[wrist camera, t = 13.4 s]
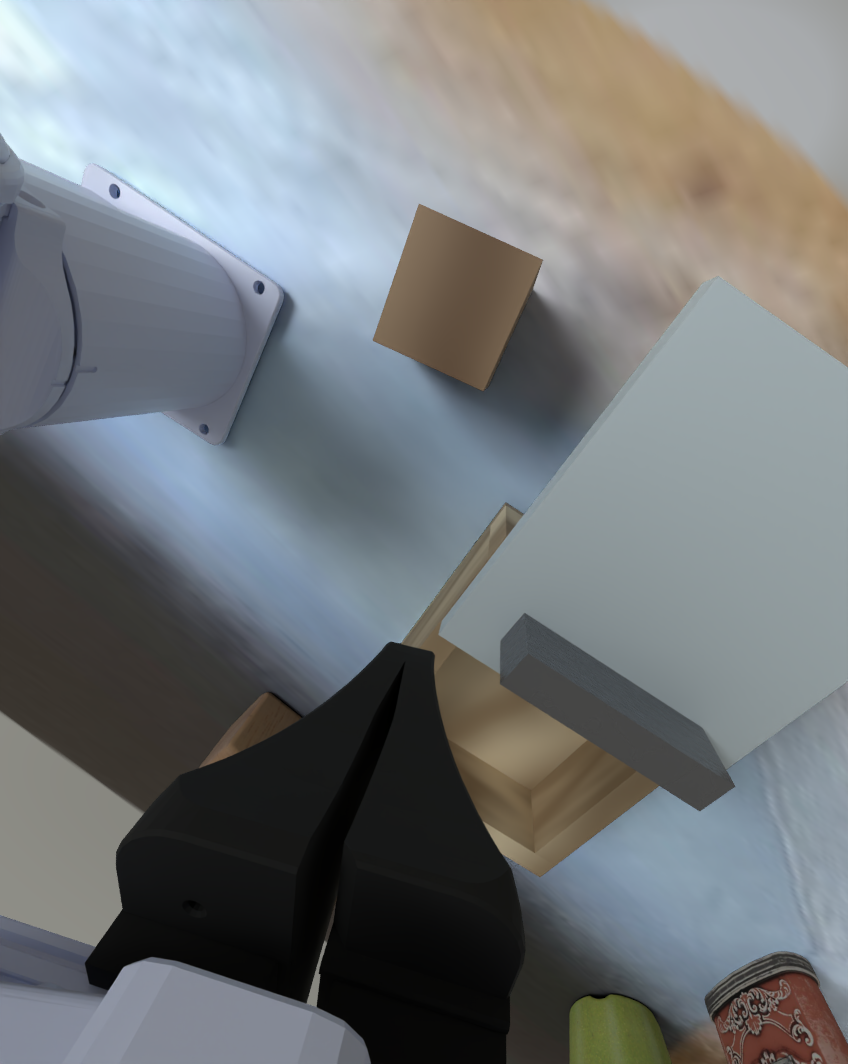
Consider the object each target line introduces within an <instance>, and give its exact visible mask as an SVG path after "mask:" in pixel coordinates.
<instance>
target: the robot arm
mask: <svg viewBox="0 0 848 1064" xmlns="http://www.w3.org/2000/svg"><path fill="white" fill-rule="evenodd" d="M118 188H119V189H120V197H119V198H118V197H117V190H118ZM262 282H263V284H264V286H265V290H264V292H263V294H260V293H259V291H258V285H259V284H260V283H262ZM283 299H284V294H283V291H282V288H281V287H280V286H279V285H278V284H277V283H275V282H274V281H272V280H271V279H269V278H268V277H266V276H265V275H263V274H262V273H260V272H259V271H257V270H256V269H254V268H253V267H251V266H250V265H248V264H247V263H245V262H244V261H242V260H241V259H239V258H238V257H236V256H235V255H233V254H232V253H230V252H229V251H227V250H226V249H224V248H223V247H221V246H220V245H218V244H217V243H215V242H214V241H212V240H211V239H209V238H208V237H206V236H205V235H203V234H202V233H200V232H199V231H197V230H196V229H194V228H193V227H191V226H190V225H188V224H187V223H185V222H184V221H182V220H181V219H179V218H178V217H176V216H175V215H173V214H172V213H170V212H169V211H167V210H166V209H164V208H163V207H161V206H160V205H158V204H157V203H155V202H154V201H152V200H151V199H149V198H148V197H146V196H145V195H143V194H142V193H140V192H139V191H137V190H136V189H134V188H133V187H131V186H130V185H128V184H127V183H125V182H124V181H122V180H121V179H119V178H118V177H116V176H115V175H113V174H112V173H110V172H109V171H107V170H106V169H104V168H103V167H101V166H99V165H97V164H94V163H91V164H88V165H87V166H86V168H85V170H84V174H83V178H82V183H81V185H78V184H76V183H74V182H72V181H69V180H67V179H65V178H62V177H60V176H58V175H56V174H53V173H51V172H49V171H47V170H44V169H42V168H40V167H38V166H35V165H33V164H31V163H28V162H26V161H24V160H22V159H19V158H18V157H17V155H16V154H15V153H14V152H13V150H12V149H11V148H10V147H9V146H8V144H7V143H6V142H5V140H4V138H3V137H2V135H1V133H0V435H1V434H3V433H4V432H6V431H10V430H13V429H20V428H29V427H37V426H46V425H54V424H63V423H71V422H80V421H88V420H97V419H105V418H114V417H122V416H131V415H139V414H148V413H156V412H162V413H163V414H165V415H166V416H168V417H169V418H171V419H173V420H174V421H176V422H177V423H179V424H180V425H182V426H183V427H185V428H187V429H188V430H190V431H191V432H193V433H194V434H196V435H197V436H199V437H201V438H202V439H204V440H205V441H207V442H208V443H210V444H212V445H219V444H222V443H224V442H225V440H226V438H227V436H228V434H229V431H230V429H231V426H232V424H233V422H234V419H235V417H236V414H237V412H238V409H239V407H240V405H241V402H242V400H243V397H244V395H245V393H246V390H247V388H248V385H249V383H250V380H251V378H252V376H253V373H254V371H255V368H256V366H257V364H258V361H259V359H260V356H261V354H262V351H263V349H264V347H265V344H266V342H267V339H268V337H269V335H270V332H271V330H272V327H273V325H274V322H275V320H276V318H277V315H278V313H279V310H280V308H281V306H282V303H283ZM205 424H206V425H207V426H208V428H209V433H207V432H206V431H205V429H204V425H205ZM434 660H435V655H434V653H433V652H432V651H428V650H424V649H420V648H416V647H411V646H407V645H403V644H399V643H394V642H390V643H388V644H386V646H385V647H384V648H383V649H382V650H381V652H380V653H379V654H378V655H377V656H376V657H375V658H374V659H373V660H372V661H371V662H370V663H369V664H368V665H367V666H366V667H365V668H364V669H363V670H362V671H361V672H360V673H359V674H358V675H357V676H356V677H354V678H353V679H352V680H351V681H350V682H349V683H348V684H347V685H345V686H344V687H343V688H342V689H341V690H339V691H338V692H337V693H336V694H334V695H333V696H332V697H331V698H330V699H328V700H327V701H326V702H324V703H323V704H322V705H320V706H319V707H317V708H316V709H315V710H313V711H312V712H310V713H309V714H307V715H306V716H304V717H303V718H301V719H300V720H298V721H297V722H295V723H293V724H292V725H290V726H288V727H287V728H285V729H283V730H282V731H280V732H278V733H276V734H275V735H273V736H271V737H269V738H267V739H265V740H263V741H261V742H259V743H257V744H255V745H253V746H251V747H249V748H247V749H245V750H243V751H240V752H238V753H236V754H234V755H232V756H229V757H227V758H225V759H222V760H219V761H217V762H214V763H211V764H209V765H206V766H203V767H201V768H198V769H195V770H193V771H190V772H187V773H184V774H181V775H179V776H178V777H177V778H176V779H175V781H174V782H173V783H172V784H171V785H170V786H169V787H168V788H167V789H166V790H165V791H164V792H163V793H162V794H161V795H160V796H159V797H158V798H157V799H156V800H155V801H154V802H153V803H152V805H151V806H150V807H149V808H148V809H147V811H146V812H145V813H144V814H143V816H142V817H141V818H140V819H139V821H138V822H137V823H136V824H135V826H134V827H133V828H132V829H131V830H130V832H129V833H128V834H127V835H126V837H125V838H124V839H123V840H122V842H121V843H120V845H119V847H118V849H117V852H116V870H117V876H118V883H119V889H120V894H121V902H122V908H123V909H122V911H121V912H120V914H119V915H118V916H117V918H116V919H115V921H114V922H113V923H112V925H111V926H110V928H109V929H108V931H107V932H106V934H105V935H104V936H103V938H102V939H101V940H100V942H99V943H98V945H97V946H96V947H94V946H91V945H88V944H85V943H82V942H79V941H76V940H73V939H70V938H67V937H64V936H61V935H58V934H55V933H52V932H49V931H46V930H43V929H40V928H37V927H34V926H31V925H28V924H25V923H22V922H19V921H16V920H13V919H10V918H7V917H4V916H1V915H0V1064H506V1034H508V1032H509V1027H510V994H511V992H512V989H513V987H514V984H515V982H516V980H517V977H518V975H519V972H520V970H521V968H522V965H523V961H524V956H525V936H524V928H523V921H522V914H521V908H520V903H519V899H518V894H517V890H516V885H515V881H514V877H513V873H512V870H511V868H510V866H509V865H508V863H507V862H506V860H505V858H504V857H503V855H502V854H501V852H500V851H499V849H498V847H497V846H496V844H495V842H494V841H493V839H492V837H491V835H490V834H489V832H488V830H487V828H486V826H485V825H484V823H483V821H482V819H481V817H480V815H479V814H478V812H477V810H476V808H475V805H474V803H473V801H472V799H471V797H470V795H469V793H468V791H467V788H466V786H465V784H464V782H463V780H462V778H461V775H460V773H459V770H458V768H457V765H456V762H455V760H454V757H453V754H452V751H451V749H450V746H449V742H448V739H447V736H446V732H445V729H444V725H443V721H442V717H441V713H440V709H439V703H438V698H437V692H436V685H435V675H434ZM336 897H337V900H336ZM335 901H336V908H335V915H334V923H333V926H332V929H331V932H330V935H329V939H328V942H327V945H326V948H325V952H324V955H323V958H322V961H321V966H320V969H319V974H321V975H320V984H319V992H318V1000H317V1007H315V1006H312V1005H309V1004H306V1003H307V999H308V996H309V992H310V989H311V985H312V981H313V978H314V974H315V971H316V967H317V964H318V960H319V957H320V953H321V950H322V946H323V943H324V939H325V936H326V932H327V929H328V925H329V922H330V918H331V915H332V911H333V908H334V904H335Z"/></svg>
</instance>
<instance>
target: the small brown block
mask: <svg viewBox="0 0 848 1064" xmlns="http://www.w3.org/2000/svg"><path fill="white" fill-rule="evenodd" d="M542 261H543V260H542V259H540V258H538V257H535V256H533V255H531V254H529V253H527V252H524V251H522V250H520V249H518V248H516V247H513V246H511V245H509V244H507V243H505V242H502V241H500V240H498V239H496V238H494V237H491V236H489V235H487V234H485V233H483V232H480V231H478V230H476V229H474V228H472V227H469V226H467V225H465V224H463V223H460V222H458V221H456V220H454V219H452V218H449V217H447V216H445V215H443V214H441V213H438V212H436V211H434V210H432V209H430V208H427V207H425V206H423V205H421V204H419V205H418V208H417V211H416V214H415V217H414V220H413V223H412V226H411V229H410V232H409V235H408V238H407V241H406V244H405V247H404V250H403V253H402V256H401V259H400V261H399V264H398V267H397V270H396V273H395V276H394V279H393V282H392V285H391V288H390V291H389V294H388V297H387V300H386V303H385V306H384V309H383V312H382V315H381V318H380V321H379V324H378V326H377V329H376V332H375V335H374V338H373V341H375V342H377V343H379V344H381V345H383V346H386V347H388V348H390V349H392V350H394V351H396V352H399V353H401V354H403V355H405V356H407V357H410V358H412V359H414V360H416V361H418V362H420V363H423V364H425V365H427V366H429V367H431V368H434V369H436V370H438V371H440V372H442V373H444V374H447V375H449V376H451V377H453V378H455V379H458V380H460V381H462V382H464V383H466V384H468V385H471V386H473V387H475V388H477V389H479V390H482V391H484V390H485V389H486V388H487V387H488V386H489V384H490V382H491V380H492V378H493V375H494V373H495V371H496V369H497V367H498V364H499V362H500V360H501V358H502V356H503V353H504V351H505V349H506V347H507V345H508V342H509V340H510V338H511V336H512V334H513V331H514V329H515V327H516V325H517V323H518V320H519V318H520V316H521V314H522V312H523V309H524V307H525V305H526V303H527V301H528V298H529V296H530V294H531V292H532V290H533V287H534V284H535V281H536V278H537V275H538V273H539V270H540V267H541V264H542Z"/></svg>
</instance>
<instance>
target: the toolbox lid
mask: <svg viewBox="0 0 848 1064" xmlns="http://www.w3.org/2000/svg"><path fill="white" fill-rule="evenodd" d="M438 635H439V636H441V637H443V638H444V639H446V640H447V641H449V642H450V643H452V644H454V645H455V646H457V647H458V648H460V649H461V650H463V651H465V652H466V653H468V654H469V655H471V656H472V657H474V658H476V659H477V660H479V661H480V662H482V663H483V664H485V665H487V666H488V667H490V668H491V669H493V670H494V671H496V672H498V673H499V674H500V685H502V686H503V687H505V688H507V689H508V690H510V691H511V692H513V693H514V694H516V695H518V696H519V697H521V698H522V699H524V700H525V701H527V702H529V703H530V704H532V705H533V706H535V707H537V708H538V709H540V710H541V711H543V712H544V713H546V714H548V715H549V716H551V717H552V718H554V719H555V720H557V721H559V722H560V723H562V724H563V725H565V726H566V727H568V728H570V729H571V730H573V731H574V732H576V733H577V734H579V735H581V736H582V737H584V738H585V739H587V740H588V741H590V742H592V743H593V744H595V745H596V746H598V747H599V748H601V749H603V750H604V751H606V752H607V753H609V754H610V755H612V756H614V757H615V758H617V759H618V760H620V761H621V762H623V763H625V764H626V765H628V766H629V767H631V768H632V769H634V770H636V771H637V772H639V773H640V774H642V775H643V776H645V777H647V778H648V779H650V780H651V781H653V782H655V783H656V784H658V785H659V786H661V787H662V788H664V789H666V790H667V791H669V792H670V793H672V794H673V795H675V796H677V797H678V798H680V799H681V800H683V801H684V802H686V803H688V804H689V805H691V806H692V807H694V808H695V809H697V810H699V811H701V810H702V809H704V808H705V807H707V806H708V805H709V804H711V803H712V802H714V801H715V800H717V799H718V798H719V797H721V796H722V795H724V794H725V793H727V792H728V791H729V790H731V789H732V788H734V787H735V785H734V783H733V781H732V780H731V778H730V776H729V774H728V773H727V771H726V770H727V769H728V768H729V767H731V766H732V765H733V764H735V763H736V762H738V761H739V760H740V759H742V758H743V757H744V756H746V755H747V754H749V753H750V752H751V751H753V750H754V749H755V748H757V747H758V746H760V745H761V744H762V743H764V742H765V741H766V740H768V739H769V738H770V737H772V736H773V735H775V734H776V733H777V732H779V731H780V730H781V729H783V728H784V727H786V726H787V725H788V724H790V723H791V722H792V721H794V720H795V719H797V718H798V717H799V716H801V715H802V714H803V713H805V712H806V711H808V710H809V709H810V708H812V707H813V706H814V705H816V704H817V703H819V702H820V701H821V700H823V699H824V698H825V697H827V696H828V695H830V694H831V693H832V692H834V691H835V690H836V689H838V688H839V687H841V686H842V685H843V684H845V683H846V682H847V681H848V367H846V366H845V365H844V364H842V363H841V362H839V361H838V360H836V359H835V358H834V357H832V356H831V355H829V354H828V353H827V352H825V351H824V350H822V349H821V348H820V347H818V346H817V345H815V344H814V343H812V342H811V341H810V340H808V339H807V338H805V337H804V336H803V335H801V334H800V333H798V332H797V331H795V330H794V329H793V328H791V327H790V326H788V325H787V324H786V323H784V322H783V321H781V320H780V319H779V318H777V317H776V316H774V315H773V314H771V313H770V312H769V311H767V310H766V309H764V308H763V307H762V306H760V305H759V304H757V303H756V302H754V301H753V300H752V299H750V298H749V297H747V296H746V295H745V294H743V293H742V292H740V291H739V290H738V289H736V288H735V287H733V286H732V285H730V284H729V283H728V282H726V281H725V280H723V279H722V278H721V277H719V276H717V277H715V278H713V279H711V280H708V281H706V282H704V283H702V284H701V286H700V287H699V288H698V290H697V291H696V292H695V294H694V295H693V296H692V297H691V299H690V300H689V301H688V303H687V304H686V305H685V307H684V308H683V309H682V310H681V312H680V313H679V314H678V316H677V317H676V318H675V319H674V321H673V322H672V323H671V325H670V326H669V327H668V329H667V330H666V331H665V332H664V334H663V335H662V336H661V338H660V339H659V340H658V341H657V343H656V344H655V345H654V347H653V348H652V349H651V351H650V352H649V353H648V354H647V356H646V357H645V358H644V360H643V361H642V362H641V364H640V365H639V366H638V367H637V369H636V370H635V371H634V373H633V374H632V375H631V376H630V378H629V379H628V380H627V382H626V383H625V384H624V386H623V387H622V388H621V389H620V391H619V392H618V393H617V395H616V396H615V397H614V399H613V400H612V401H611V402H610V404H609V405H608V406H607V408H606V409H605V410H604V411H603V413H602V414H601V415H600V417H599V418H598V419H597V421H596V422H595V423H594V424H593V426H592V427H591V428H590V430H589V431H588V432H587V433H586V435H585V436H584V437H583V439H582V440H581V441H580V443H579V444H578V445H577V446H576V448H575V449H574V450H573V452H572V453H571V454H570V456H569V457H568V458H567V459H566V461H565V462H564V463H563V465H562V466H561V467H560V468H559V470H558V471H557V472H556V474H555V475H554V476H553V478H552V479H551V480H550V481H549V483H548V484H547V485H546V487H545V488H544V489H543V491H542V492H541V493H540V494H539V496H538V497H537V498H536V500H535V501H534V502H533V503H532V505H531V506H530V507H529V509H528V510H527V511H526V513H525V514H524V515H523V516H522V518H521V519H520V520H519V522H518V523H517V524H516V525H515V527H514V528H513V529H512V531H511V532H510V533H509V535H508V536H507V537H506V538H505V540H504V541H503V542H502V544H501V545H500V546H499V548H498V549H497V550H496V551H495V553H494V554H493V555H492V557H491V558H490V559H489V560H488V562H487V563H486V564H485V566H484V567H483V568H482V570H481V571H480V572H479V573H478V575H477V576H476V577H475V579H474V580H473V581H472V583H471V584H470V585H469V586H468V588H467V589H466V590H465V592H464V593H463V594H462V595H461V597H460V598H459V599H458V601H457V602H456V603H455V605H454V606H453V607H452V608H451V610H450V611H449V612H448V614H447V615H446V616H445V617H444V619H443V620H442V622H441V626H440V630H439V634H438Z"/></svg>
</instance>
